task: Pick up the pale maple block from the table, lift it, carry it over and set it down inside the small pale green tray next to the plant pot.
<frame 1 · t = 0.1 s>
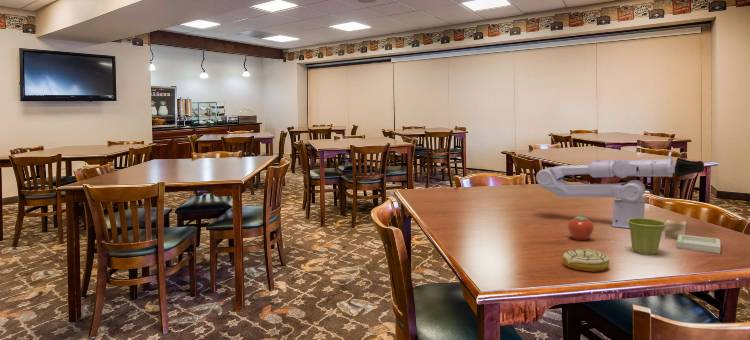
hand: (703, 166, 143), 22 cm above the table, tool horizontal, fingers open, 7 cm apart
plant pot: (644, 252, 127), on the table
tray: (698, 246, 131), on the table
tomato: (580, 239, 142), on the table
maple block: (675, 237, 141), on the table
decorated donut: (585, 267, 116), on the table
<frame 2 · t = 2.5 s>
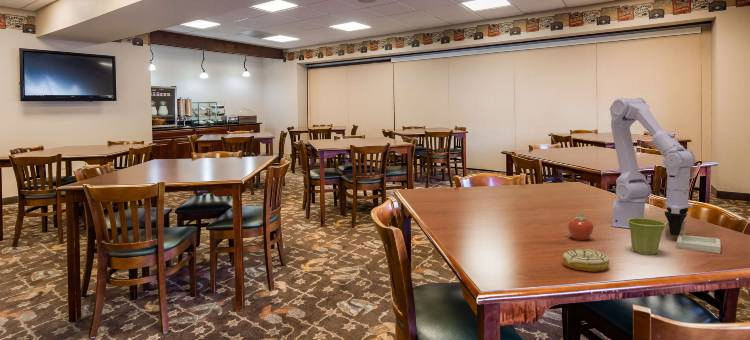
hand: (675, 232, 141), 2 cm above the table, tool pointing down, fingers open, 7 cm apart
nothing on the table moved.
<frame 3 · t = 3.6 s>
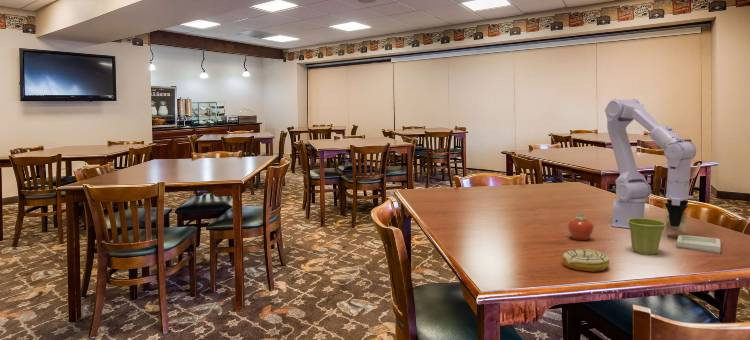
hand: (675, 224, 141), 4 cm above the table, tool pointing down, fingers closed on maple block, 5 cm apart
maple block: (675, 229, 141), point 2 cm above the table, touching gripper
everything else where it was.
when the fingers open (3 cm above the table, at t = 6.1 s): maple block stays where it is, resting on tray.
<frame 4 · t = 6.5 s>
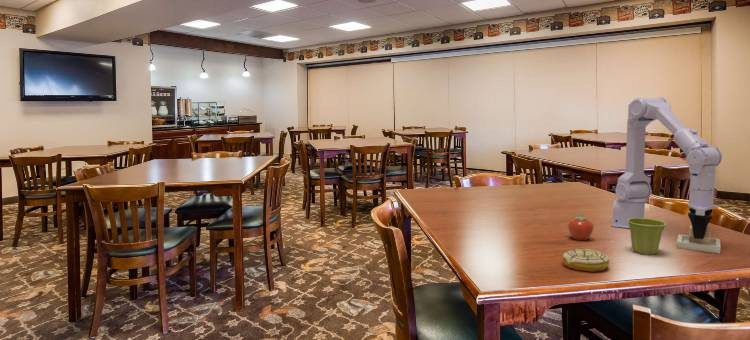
hand: (698, 235, 131), 3 cm above the table, tool pointing down, fingers open, 7 cm apart
maple block: (699, 244, 131), point 1 cm above the table, touching tray
everything else where it was.
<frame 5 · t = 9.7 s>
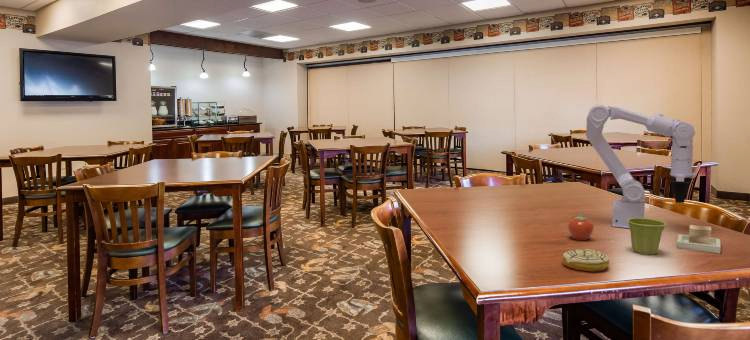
hand: (680, 200, 149), 10 cm above the table, tool pointing down, fingers open, 7 cm apart
nothing on the table moved.
at the end: maple block 0.2 cm off-centre on the tray, point 0.6 cm above the tray's base; maple block tilted 0°; the gripper is holding nothing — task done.
